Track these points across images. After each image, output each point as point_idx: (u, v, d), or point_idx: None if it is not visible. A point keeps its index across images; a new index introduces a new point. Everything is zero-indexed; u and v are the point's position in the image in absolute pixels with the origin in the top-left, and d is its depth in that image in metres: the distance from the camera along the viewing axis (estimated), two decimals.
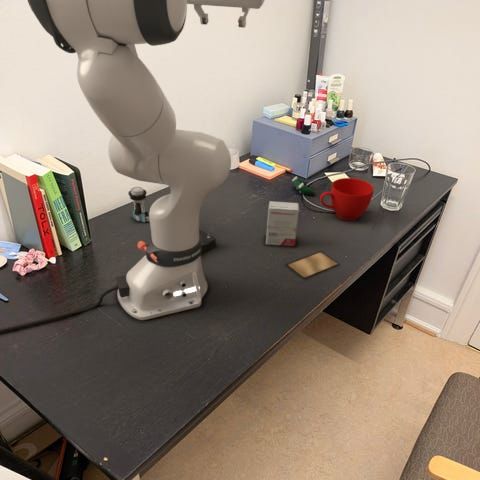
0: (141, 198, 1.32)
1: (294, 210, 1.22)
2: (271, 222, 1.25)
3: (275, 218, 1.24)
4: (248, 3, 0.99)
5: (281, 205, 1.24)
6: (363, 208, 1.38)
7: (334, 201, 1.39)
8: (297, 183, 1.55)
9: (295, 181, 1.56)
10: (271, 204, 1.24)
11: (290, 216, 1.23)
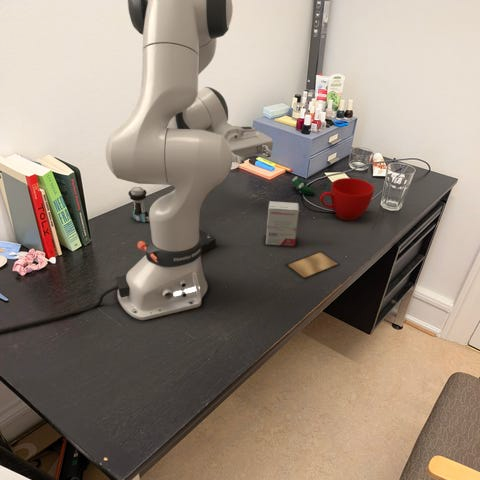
0: (141, 198, 1.32)
1: (294, 210, 1.22)
2: (271, 222, 1.25)
3: (275, 218, 1.24)
4: (264, 140, 1.32)
5: (281, 205, 1.24)
6: (363, 208, 1.38)
7: (334, 201, 1.39)
8: (297, 183, 1.55)
9: (295, 181, 1.56)
10: (271, 204, 1.24)
11: (290, 216, 1.23)
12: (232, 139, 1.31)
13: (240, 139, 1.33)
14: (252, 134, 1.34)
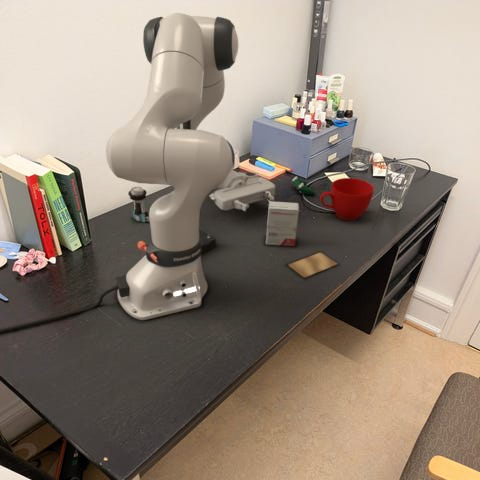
0: (141, 198, 1.32)
1: (294, 210, 1.22)
2: (271, 222, 1.25)
3: (275, 218, 1.24)
4: (267, 186, 1.39)
5: (281, 205, 1.24)
6: (363, 208, 1.38)
7: (334, 201, 1.39)
8: (297, 183, 1.55)
9: (295, 181, 1.56)
10: (271, 204, 1.24)
11: (290, 216, 1.23)
12: (237, 186, 1.38)
13: (244, 185, 1.39)
14: (256, 180, 1.41)
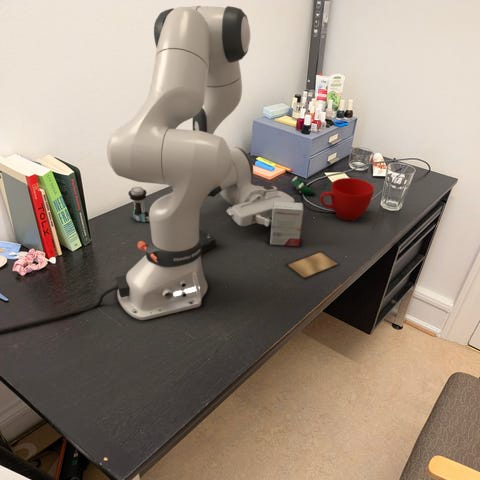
0: (141, 198, 1.32)
1: (298, 210, 1.22)
2: (275, 222, 1.25)
3: (279, 218, 1.24)
4: (286, 201, 1.33)
5: (285, 205, 1.24)
6: (363, 208, 1.38)
7: (334, 201, 1.39)
8: (297, 183, 1.55)
9: (295, 181, 1.56)
10: (275, 204, 1.24)
11: (294, 216, 1.23)
12: (255, 200, 1.32)
13: (262, 200, 1.34)
14: (274, 194, 1.36)
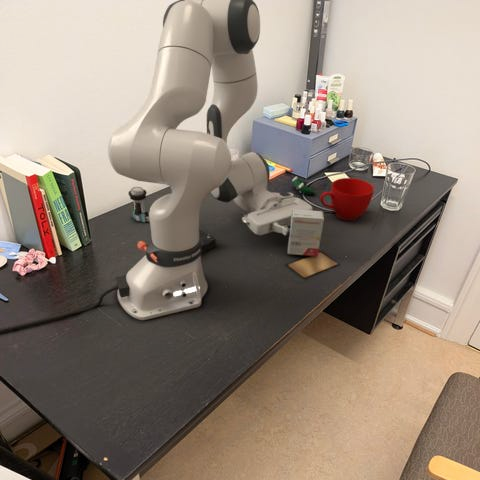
0: (141, 198, 1.32)
1: (319, 219, 1.17)
2: (294, 231, 1.19)
3: (298, 227, 1.19)
4: (304, 208, 1.28)
5: (305, 213, 1.18)
6: (363, 208, 1.38)
7: (334, 201, 1.39)
8: (297, 183, 1.55)
9: (295, 181, 1.56)
10: (294, 212, 1.19)
11: (314, 225, 1.18)
12: (271, 208, 1.27)
13: (279, 207, 1.28)
14: (291, 201, 1.30)
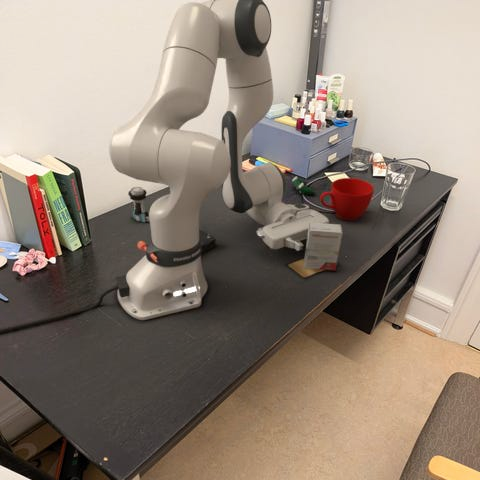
0: (141, 198, 1.32)
1: (337, 233, 1.13)
2: (311, 245, 1.16)
3: (315, 241, 1.15)
4: (320, 221, 1.24)
5: (323, 227, 1.15)
6: (363, 208, 1.38)
7: (334, 201, 1.39)
8: (297, 183, 1.55)
9: (295, 181, 1.56)
10: (312, 226, 1.15)
11: (332, 239, 1.14)
12: (287, 220, 1.23)
13: (294, 219, 1.25)
14: (306, 213, 1.26)
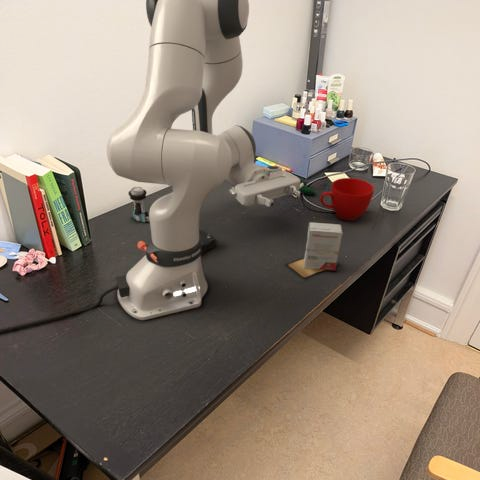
0: (141, 198, 1.32)
1: (337, 233, 1.13)
2: (311, 245, 1.16)
3: (315, 241, 1.15)
4: (291, 180, 1.28)
5: (323, 227, 1.15)
6: (363, 208, 1.38)
7: (334, 201, 1.39)
8: None
9: None
10: (312, 226, 1.15)
11: (332, 239, 1.14)
12: (259, 180, 1.27)
13: (267, 179, 1.29)
14: (279, 174, 1.30)
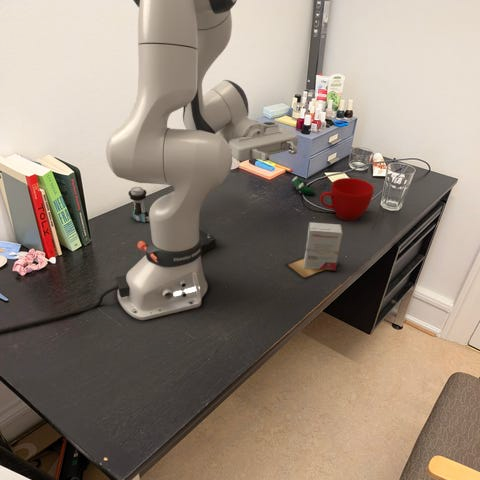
0: (141, 198, 1.32)
1: (337, 233, 1.13)
2: (311, 245, 1.16)
3: (315, 241, 1.15)
4: (288, 136, 1.22)
5: (323, 227, 1.15)
6: (363, 208, 1.38)
7: (334, 201, 1.39)
8: (297, 183, 1.55)
9: (295, 181, 1.56)
10: (312, 226, 1.15)
11: (332, 239, 1.14)
12: (254, 135, 1.21)
13: (263, 135, 1.23)
14: (275, 130, 1.25)
